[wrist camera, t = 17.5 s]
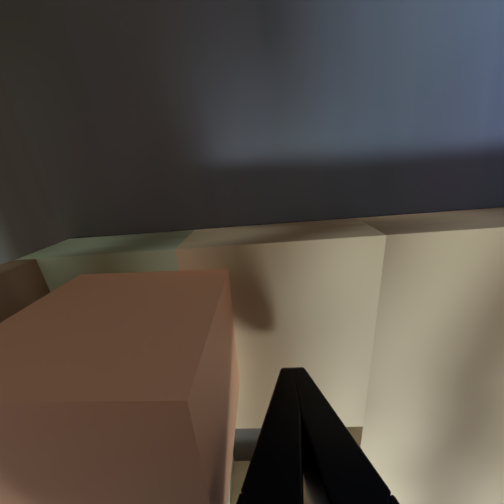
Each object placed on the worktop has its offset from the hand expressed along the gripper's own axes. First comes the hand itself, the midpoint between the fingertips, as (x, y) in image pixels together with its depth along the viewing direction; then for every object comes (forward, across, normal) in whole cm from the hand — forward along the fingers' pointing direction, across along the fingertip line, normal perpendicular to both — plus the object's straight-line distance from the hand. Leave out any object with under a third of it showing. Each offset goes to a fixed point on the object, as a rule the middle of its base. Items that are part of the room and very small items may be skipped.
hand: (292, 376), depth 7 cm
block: (+1, +4, -1) cm, 5 cm away
